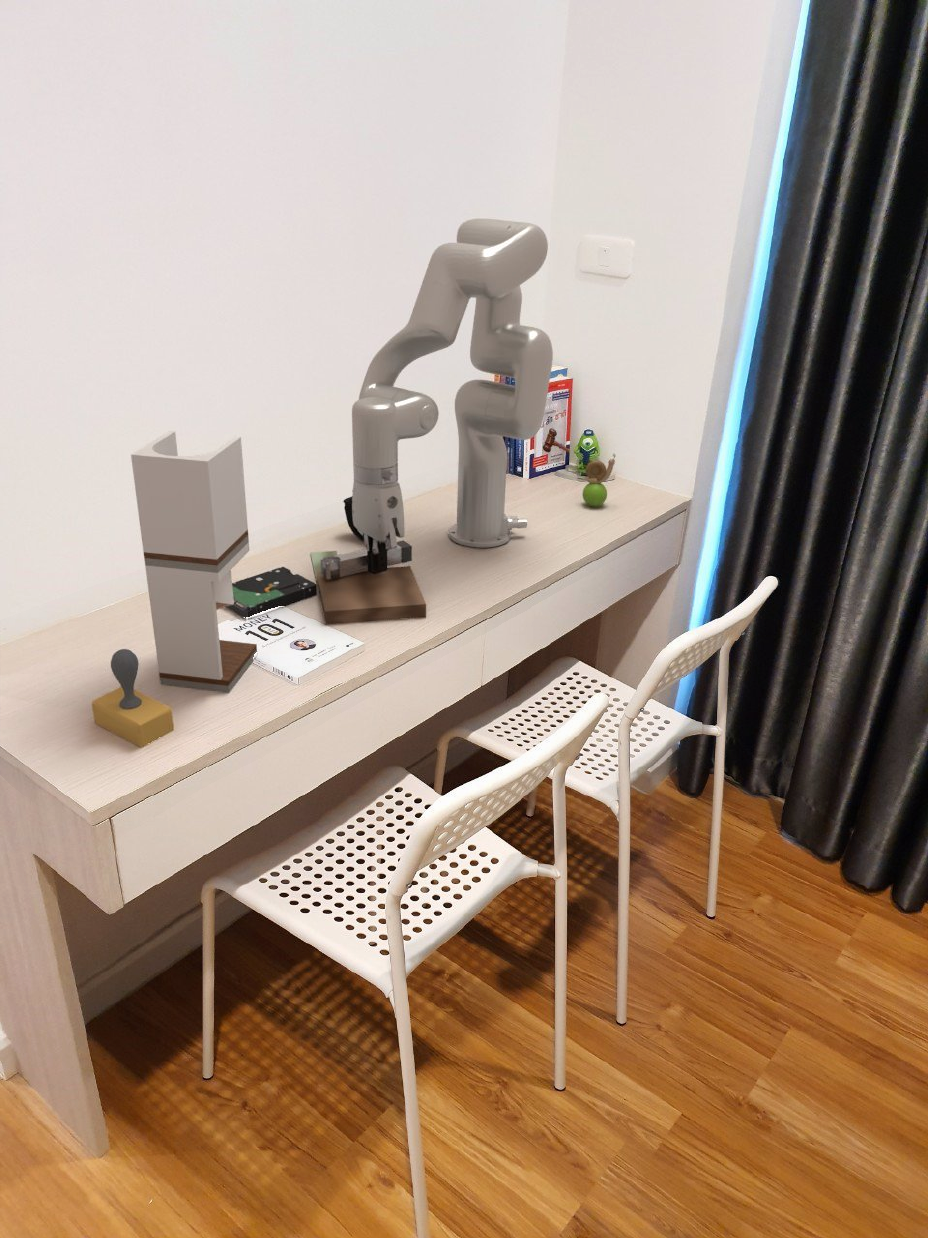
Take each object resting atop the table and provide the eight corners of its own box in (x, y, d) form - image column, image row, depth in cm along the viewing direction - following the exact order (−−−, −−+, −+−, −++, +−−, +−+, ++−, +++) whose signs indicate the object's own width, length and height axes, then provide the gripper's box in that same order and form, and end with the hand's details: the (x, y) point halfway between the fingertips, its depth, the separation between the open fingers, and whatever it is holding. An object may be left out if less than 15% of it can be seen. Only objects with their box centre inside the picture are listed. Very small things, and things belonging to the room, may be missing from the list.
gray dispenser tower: (229, 692, 142) (207, 461, 126) (160, 684, 143) (130, 454, 128) (257, 655, 152) (240, 436, 136) (193, 648, 154) (169, 430, 138)
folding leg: (327, 580, 170) (327, 564, 169) (319, 573, 173) (319, 558, 171) (412, 561, 179) (412, 546, 178) (403, 555, 181) (403, 540, 180)
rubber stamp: (93, 724, 134) (80, 647, 128) (128, 706, 138) (117, 631, 133) (141, 749, 129) (129, 670, 124) (175, 729, 133) (166, 653, 128)
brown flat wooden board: (397, 549, 192) (397, 537, 190) (425, 617, 166) (426, 604, 164) (310, 554, 188) (310, 542, 187) (325, 624, 162) (324, 611, 161)
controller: (354, 530, 200) (353, 484, 195) (402, 545, 194) (402, 497, 189) (340, 536, 196) (339, 489, 192) (389, 551, 190) (389, 503, 186)
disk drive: (283, 579, 179) (213, 602, 169) (282, 565, 178) (212, 588, 168) (318, 597, 172) (248, 622, 163) (318, 583, 171) (247, 607, 162)
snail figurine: (611, 510, 215) (617, 457, 209) (582, 509, 215) (587, 456, 209) (608, 501, 219) (614, 450, 214) (580, 501, 219) (585, 449, 214)
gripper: (419, 480, 162) (419, 580, 170) (369, 457, 172) (371, 552, 181) (382, 489, 158) (384, 591, 166) (333, 464, 168) (337, 562, 176)
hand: (377, 570), depth 173 cm, fingers closed
